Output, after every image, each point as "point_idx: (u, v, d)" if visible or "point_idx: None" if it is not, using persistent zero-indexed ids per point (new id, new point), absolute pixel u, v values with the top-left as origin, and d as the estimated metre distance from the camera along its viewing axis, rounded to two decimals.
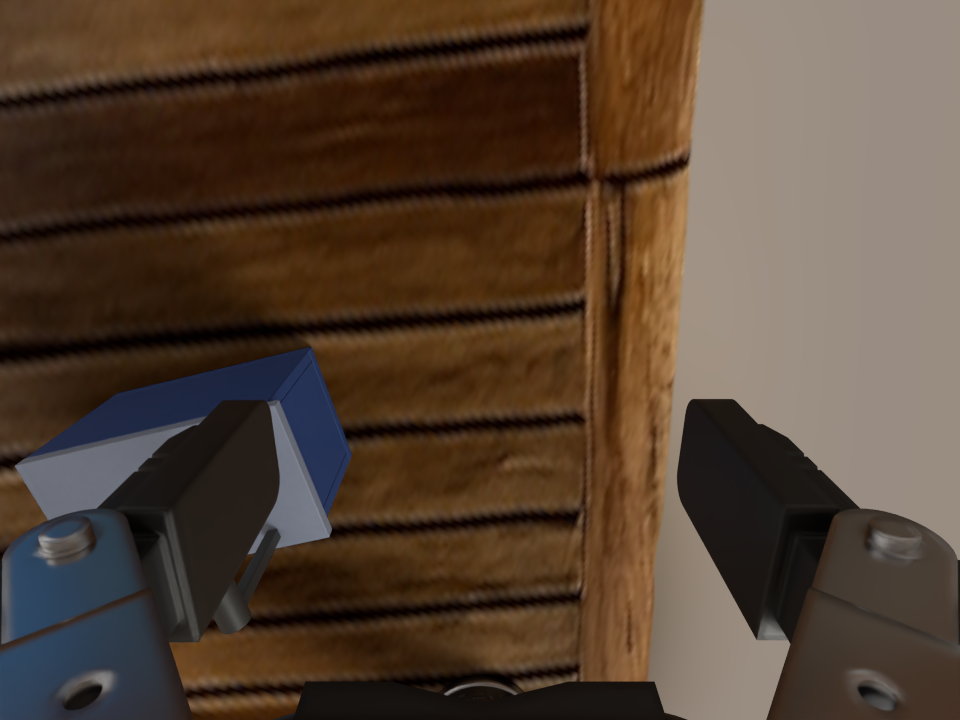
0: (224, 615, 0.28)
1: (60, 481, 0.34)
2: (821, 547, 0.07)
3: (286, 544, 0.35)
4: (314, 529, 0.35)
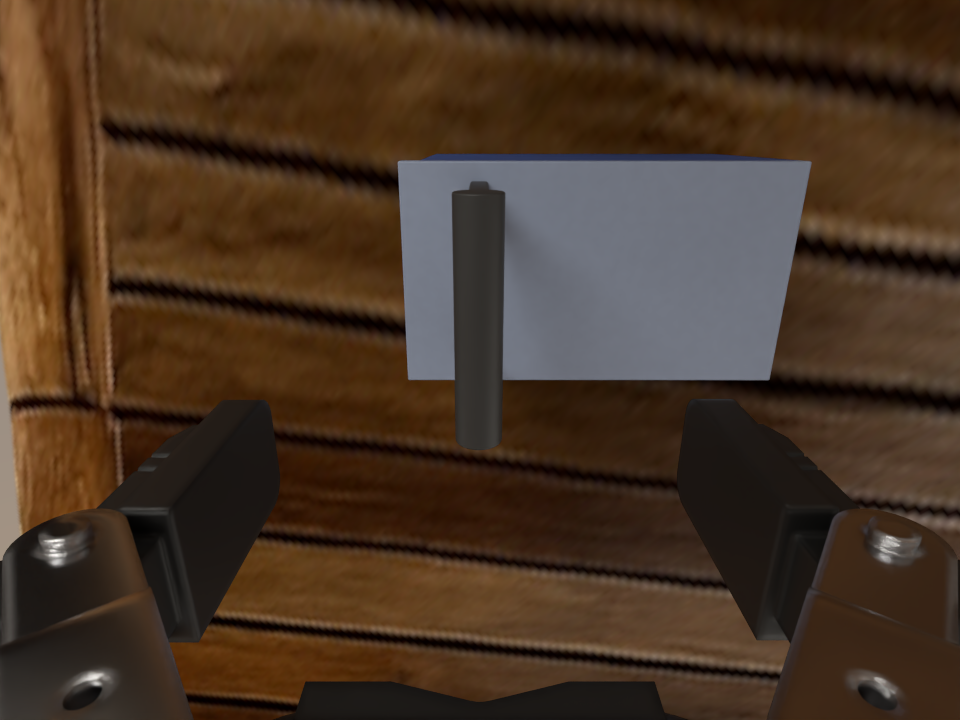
0: (471, 236, 0.16)
1: (727, 346, 0.25)
2: (821, 547, 0.07)
3: (467, 165, 0.22)
4: (415, 182, 0.23)
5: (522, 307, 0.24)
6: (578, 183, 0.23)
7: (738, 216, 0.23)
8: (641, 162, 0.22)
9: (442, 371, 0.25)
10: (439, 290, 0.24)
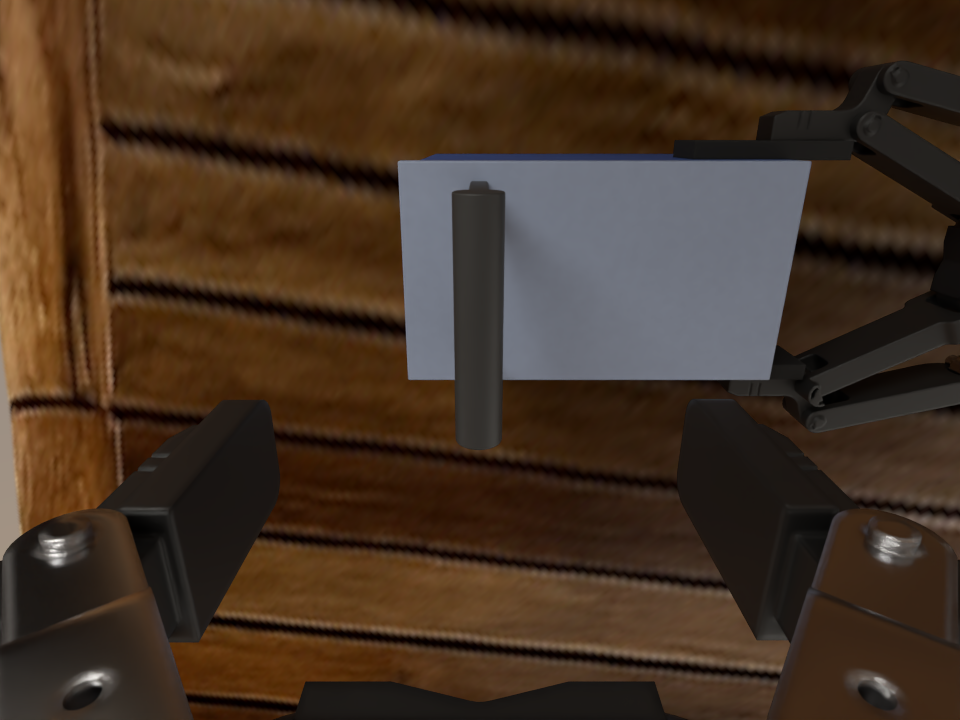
0: (471, 236, 0.16)
1: (727, 346, 0.25)
2: (821, 547, 0.07)
3: (467, 165, 0.22)
4: (415, 181, 0.23)
5: (522, 307, 0.24)
6: (578, 183, 0.23)
7: (738, 216, 0.23)
8: (641, 162, 0.22)
9: (442, 371, 0.25)
10: (439, 289, 0.24)
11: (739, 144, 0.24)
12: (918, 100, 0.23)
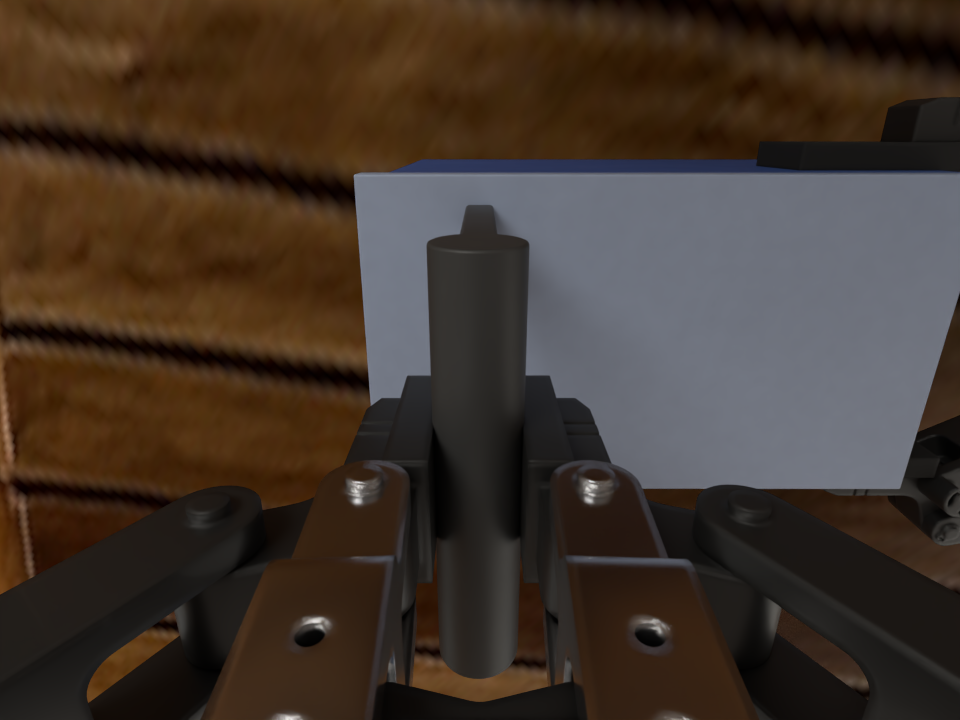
0: (464, 330, 0.08)
1: (843, 443, 0.17)
2: None
3: (461, 180, 0.14)
4: (382, 206, 0.15)
5: None
6: (632, 208, 0.15)
7: (874, 258, 0.15)
8: (730, 176, 0.14)
9: None
10: (420, 364, 0.16)
11: (870, 147, 0.16)
12: None
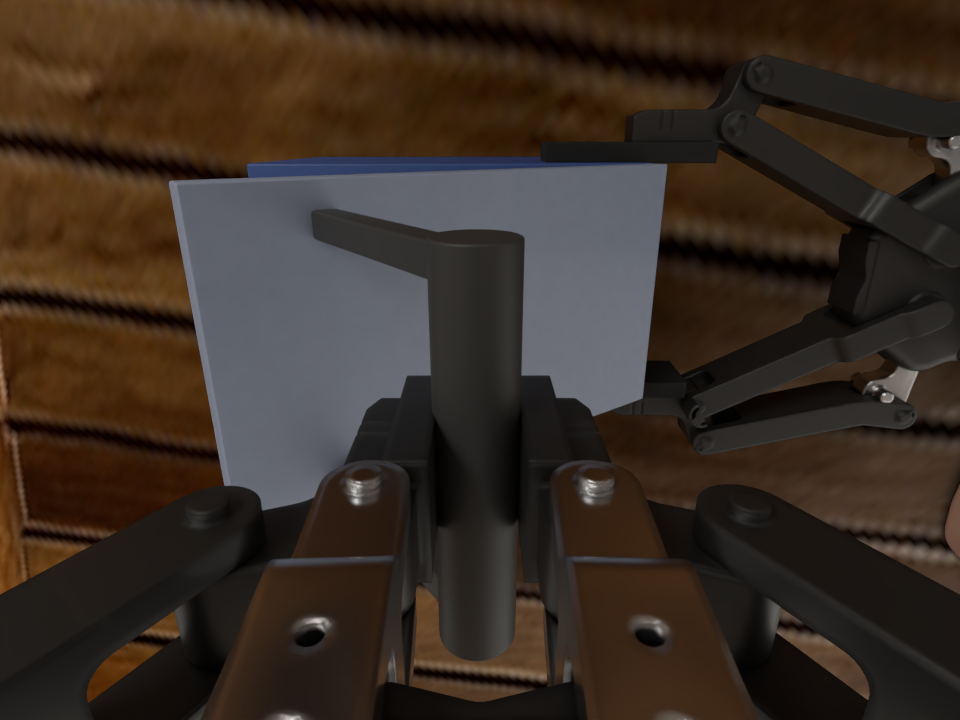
0: (493, 320, 0.09)
1: (610, 373, 0.22)
2: None
3: (303, 184, 0.14)
4: (214, 218, 0.13)
5: (401, 386, 0.17)
6: (458, 203, 0.16)
7: (614, 229, 0.20)
8: (524, 171, 0.17)
9: None
10: (277, 390, 0.15)
11: (594, 145, 0.22)
12: (786, 98, 0.21)
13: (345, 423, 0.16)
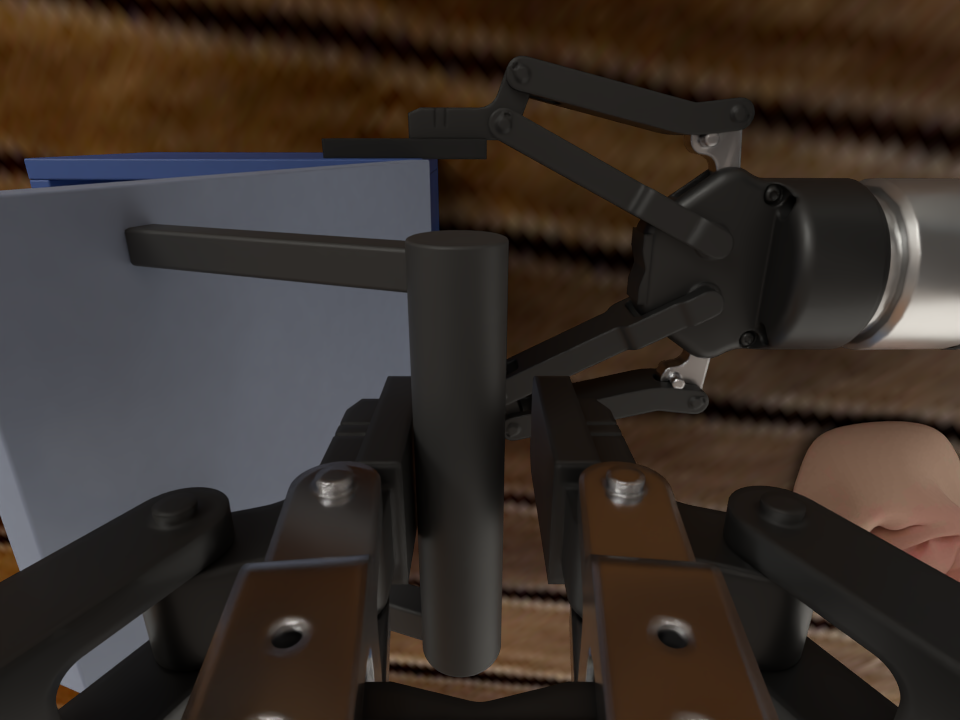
0: (499, 320, 0.09)
1: None
2: None
3: (109, 194, 0.10)
4: None
5: (246, 427, 0.14)
6: (276, 207, 0.14)
7: (400, 225, 0.20)
8: (327, 169, 0.16)
9: None
10: (110, 473, 0.11)
11: (368, 142, 0.23)
12: (546, 97, 0.22)
13: None
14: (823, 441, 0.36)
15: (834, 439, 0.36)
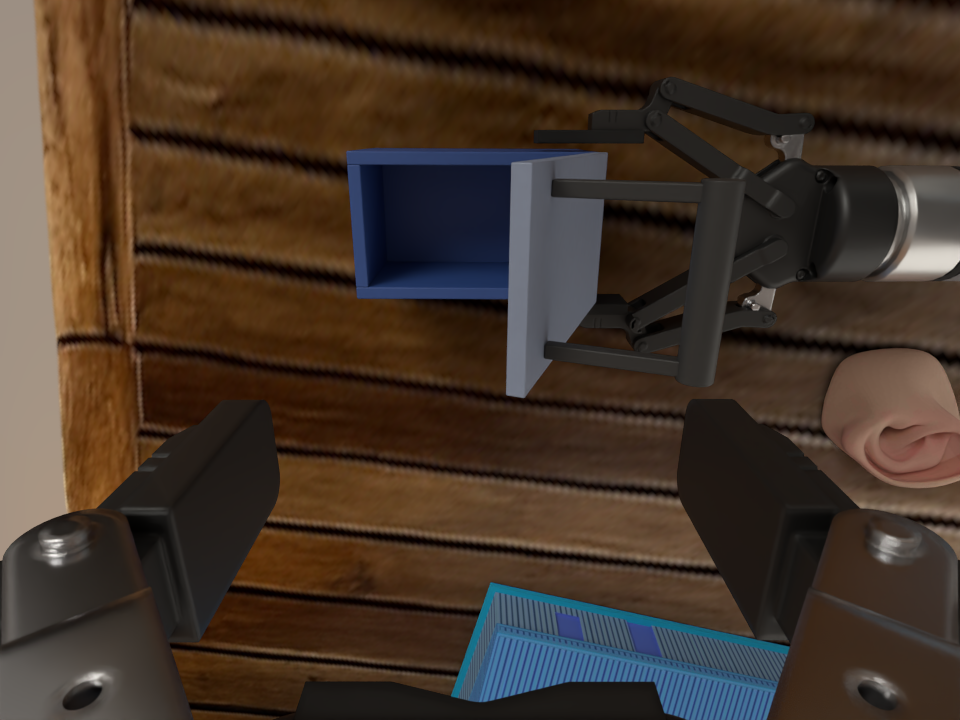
0: (740, 213, 0.21)
1: (591, 285, 0.35)
2: (821, 547, 0.07)
3: (551, 163, 0.23)
4: (536, 184, 0.21)
5: (557, 291, 0.27)
6: (574, 175, 0.27)
7: None
8: (584, 156, 0.29)
9: (535, 375, 0.25)
10: (538, 292, 0.24)
11: (568, 132, 0.35)
12: (684, 104, 0.35)
13: (547, 316, 0.26)
14: (847, 363, 0.49)
15: (855, 361, 0.49)
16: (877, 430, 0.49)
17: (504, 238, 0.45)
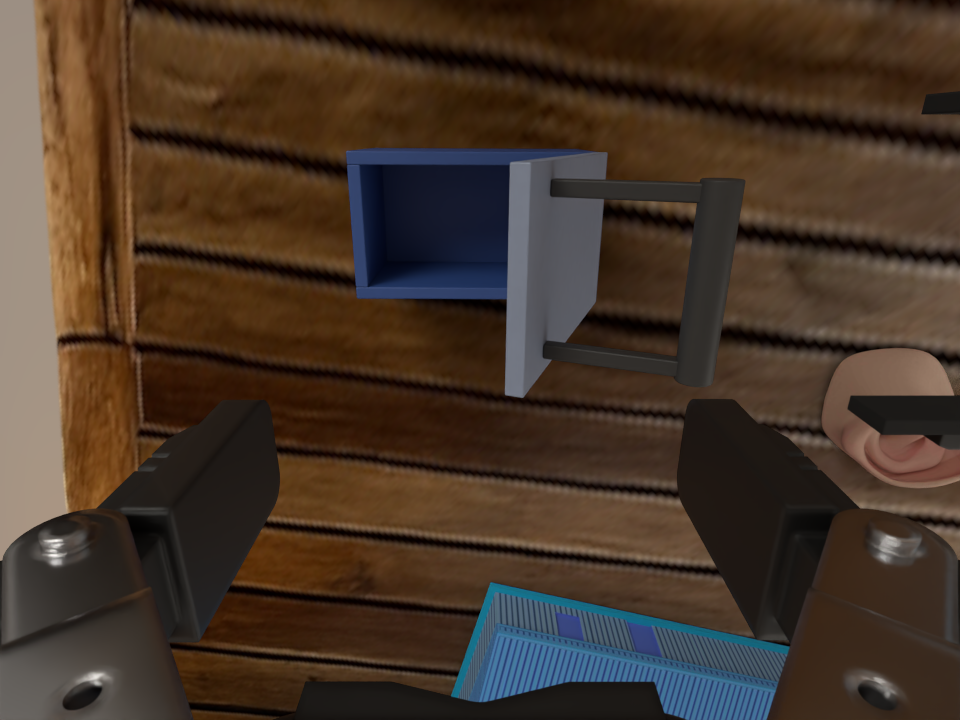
0: (739, 213, 0.21)
1: (591, 285, 0.35)
2: (821, 547, 0.07)
3: (550, 163, 0.23)
4: (535, 183, 0.21)
5: (557, 291, 0.27)
6: (573, 175, 0.27)
7: None
8: (584, 156, 0.29)
9: (533, 375, 0.25)
10: (537, 292, 0.24)
11: None
12: None
13: (546, 315, 0.26)
14: (847, 363, 0.49)
15: (855, 361, 0.49)
16: None
17: (504, 238, 0.45)
